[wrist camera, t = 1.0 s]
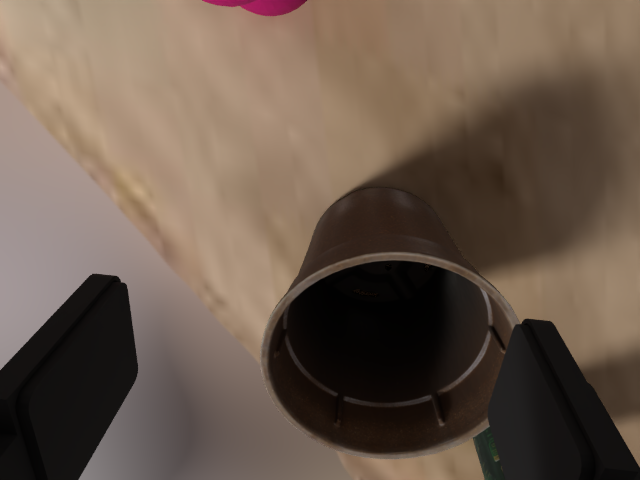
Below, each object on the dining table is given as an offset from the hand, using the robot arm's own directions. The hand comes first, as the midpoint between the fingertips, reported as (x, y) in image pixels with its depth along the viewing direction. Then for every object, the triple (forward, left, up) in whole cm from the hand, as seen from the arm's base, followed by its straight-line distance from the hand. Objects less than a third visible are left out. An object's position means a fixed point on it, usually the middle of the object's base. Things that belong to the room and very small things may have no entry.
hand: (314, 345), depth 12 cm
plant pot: (+12, +5, -30) cm, 33 cm away
